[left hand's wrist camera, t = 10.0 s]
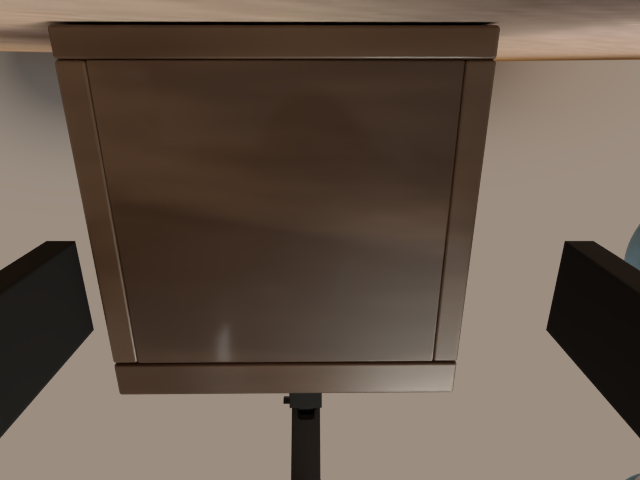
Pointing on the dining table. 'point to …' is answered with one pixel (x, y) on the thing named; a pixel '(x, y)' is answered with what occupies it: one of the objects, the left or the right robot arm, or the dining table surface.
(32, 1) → the dining table surface
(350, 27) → the chest
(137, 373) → the lid
